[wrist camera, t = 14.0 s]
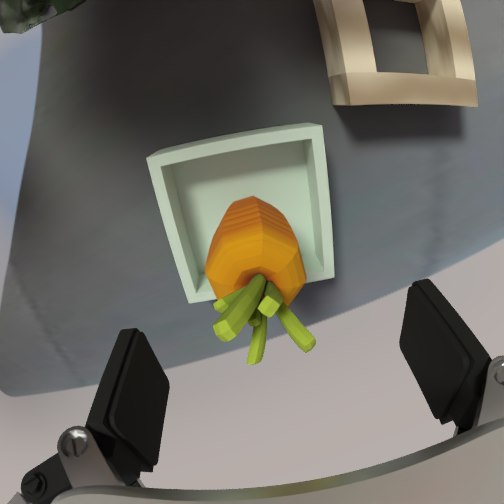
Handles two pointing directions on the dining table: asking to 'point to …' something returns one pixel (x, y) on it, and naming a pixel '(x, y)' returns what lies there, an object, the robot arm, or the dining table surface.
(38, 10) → the rose bouquet
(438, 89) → the wooden stand
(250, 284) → the carrot
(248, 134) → the tray
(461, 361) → the robot arm
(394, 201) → the dining table surface
